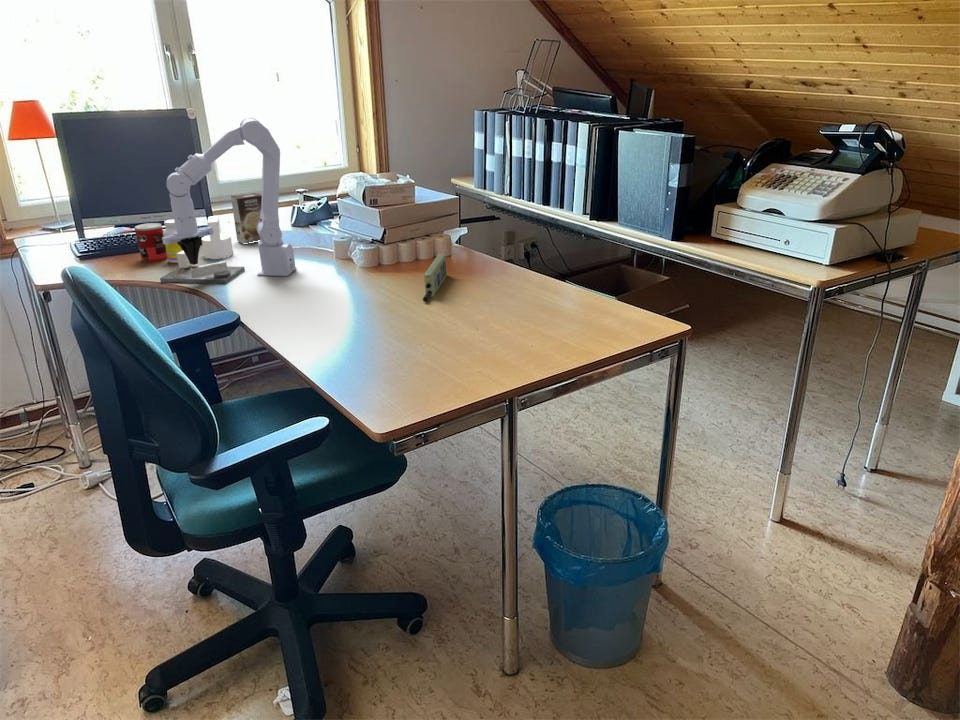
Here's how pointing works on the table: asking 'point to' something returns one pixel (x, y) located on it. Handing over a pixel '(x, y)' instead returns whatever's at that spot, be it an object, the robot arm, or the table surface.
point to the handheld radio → (435, 276)
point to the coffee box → (247, 216)
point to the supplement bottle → (173, 247)
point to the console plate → (185, 276)
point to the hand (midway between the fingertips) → (193, 263)
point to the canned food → (151, 242)
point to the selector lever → (210, 269)
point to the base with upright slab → (216, 241)
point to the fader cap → (183, 260)
